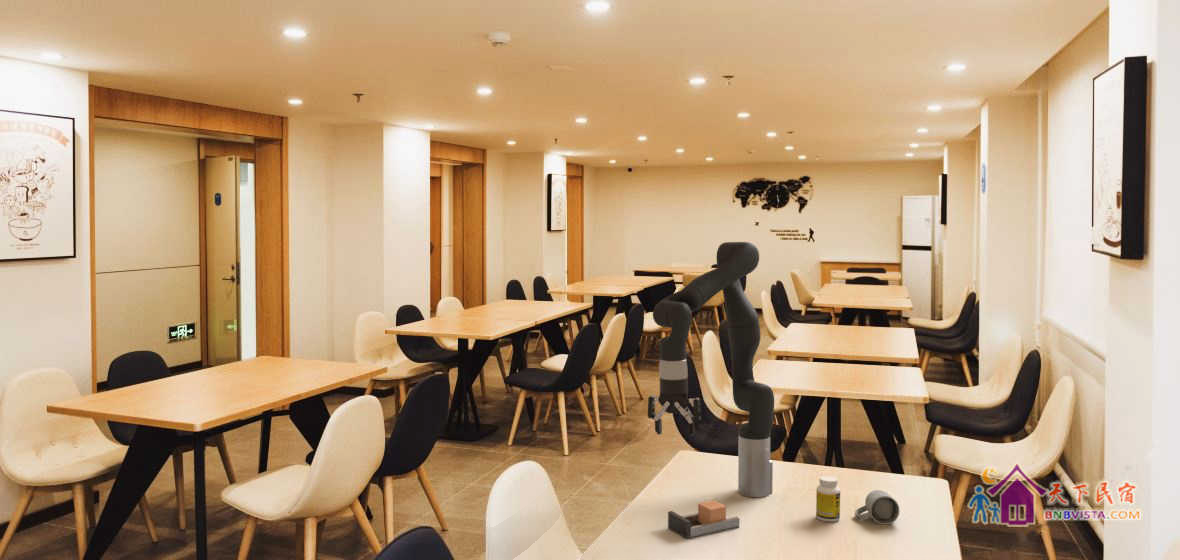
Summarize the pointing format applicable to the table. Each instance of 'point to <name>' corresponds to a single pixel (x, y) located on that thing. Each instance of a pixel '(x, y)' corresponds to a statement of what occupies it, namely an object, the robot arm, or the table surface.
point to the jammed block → (711, 512)
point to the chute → (698, 525)
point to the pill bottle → (828, 500)
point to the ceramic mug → (879, 508)
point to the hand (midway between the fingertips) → (674, 435)
